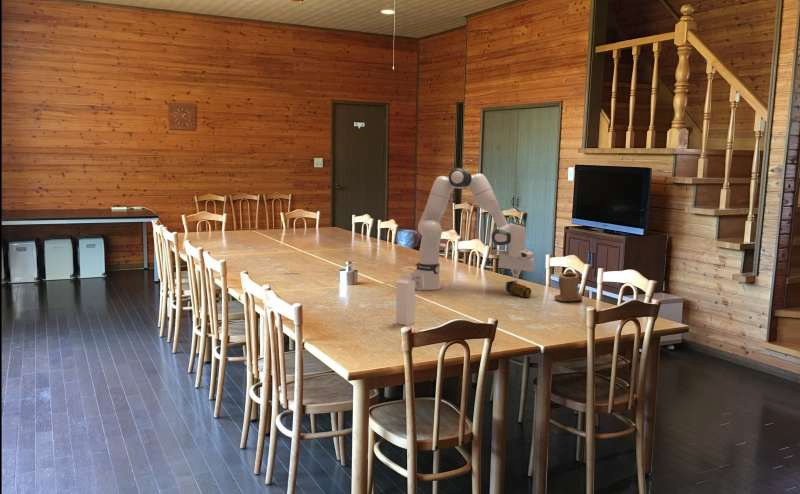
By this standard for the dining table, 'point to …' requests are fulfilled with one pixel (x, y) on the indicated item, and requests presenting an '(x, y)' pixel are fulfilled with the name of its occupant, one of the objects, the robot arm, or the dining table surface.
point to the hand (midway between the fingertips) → (515, 277)
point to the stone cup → (568, 287)
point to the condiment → (517, 289)
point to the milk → (405, 300)
